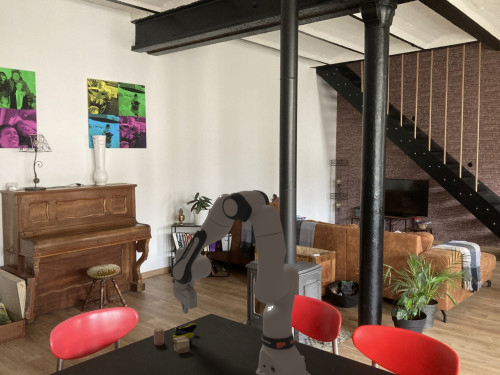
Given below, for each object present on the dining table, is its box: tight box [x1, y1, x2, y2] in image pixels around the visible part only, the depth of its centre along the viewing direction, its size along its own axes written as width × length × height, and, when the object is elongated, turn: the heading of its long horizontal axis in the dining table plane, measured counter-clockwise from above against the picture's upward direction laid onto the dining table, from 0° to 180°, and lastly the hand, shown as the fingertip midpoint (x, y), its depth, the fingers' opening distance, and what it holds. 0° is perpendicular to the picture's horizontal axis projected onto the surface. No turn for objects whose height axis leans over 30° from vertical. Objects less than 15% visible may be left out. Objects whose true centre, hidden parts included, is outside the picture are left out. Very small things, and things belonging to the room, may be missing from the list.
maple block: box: [173, 336, 190, 355], centre depth 196 cm, size 5×5×5 cm
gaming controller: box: [171, 322, 198, 343], centre depth 207 cm, size 15×6×10 cm
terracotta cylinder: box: [153, 327, 165, 347], centre depth 203 cm, size 4×4×6 cm
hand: (185, 312), depth 207 cm, fingers closed
